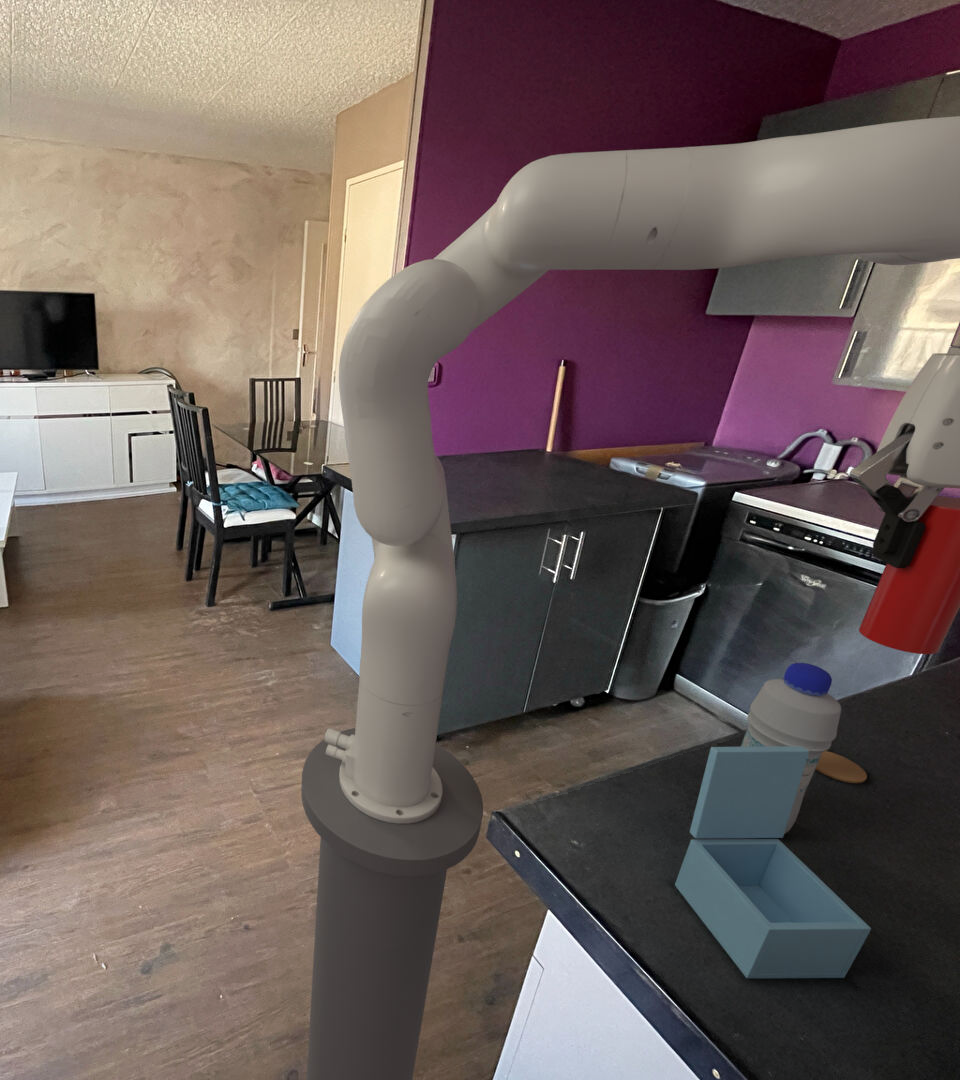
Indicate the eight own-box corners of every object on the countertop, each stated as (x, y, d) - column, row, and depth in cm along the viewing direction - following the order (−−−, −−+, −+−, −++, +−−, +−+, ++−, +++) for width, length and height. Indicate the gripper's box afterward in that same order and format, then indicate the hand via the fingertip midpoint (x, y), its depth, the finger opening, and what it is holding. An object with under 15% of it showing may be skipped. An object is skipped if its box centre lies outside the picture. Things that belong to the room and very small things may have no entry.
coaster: (796, 761, 74) (797, 759, 74) (814, 745, 76) (815, 743, 76) (856, 789, 69) (857, 787, 69) (873, 772, 72) (874, 770, 72)
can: (856, 639, 51) (913, 503, 47) (861, 621, 54) (914, 492, 50) (938, 661, 48) (1008, 517, 43) (938, 640, 51) (1003, 504, 46)
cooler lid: (810, 751, 52) (801, 745, 53) (717, 751, 52) (710, 746, 53) (783, 838, 55) (775, 831, 56) (695, 838, 55) (688, 832, 56)
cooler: (844, 978, 49) (871, 928, 47) (746, 978, 49) (769, 929, 47) (758, 884, 58) (778, 838, 56) (674, 885, 58) (690, 839, 56)
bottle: (728, 834, 63) (789, 679, 56) (704, 790, 69) (756, 645, 62) (804, 851, 61) (877, 692, 54) (773, 804, 67) (835, 655, 60)
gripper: (1137, 333, 43) (1022, 558, 50) (853, 334, 48) (782, 540, 54) (1269, 335, 36) (1117, 596, 43) (924, 336, 41) (833, 572, 47)
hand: (931, 563), depth 48 cm, fingers closed on can, 4 cm apart
